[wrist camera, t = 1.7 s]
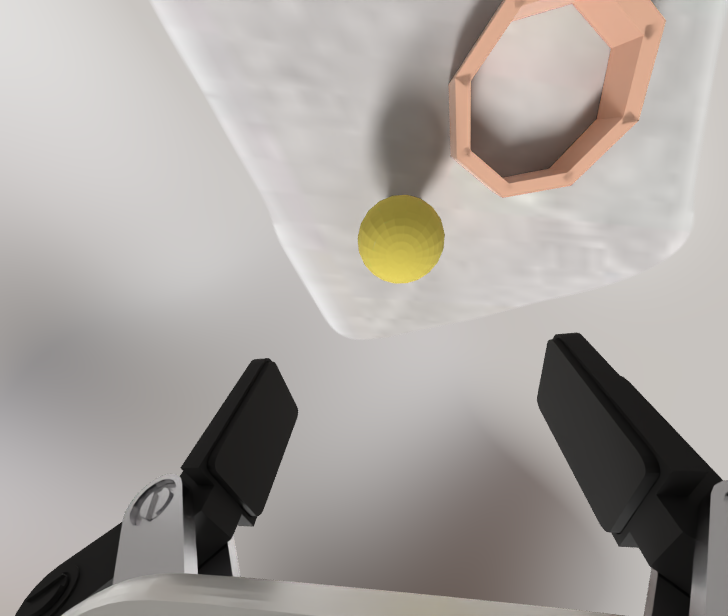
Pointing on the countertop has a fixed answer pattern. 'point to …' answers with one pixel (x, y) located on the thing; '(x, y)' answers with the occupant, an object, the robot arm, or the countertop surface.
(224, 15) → the countertop surface
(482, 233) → the countertop surface
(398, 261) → the light bulb
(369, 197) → the countertop surface
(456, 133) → the terracotta ring
